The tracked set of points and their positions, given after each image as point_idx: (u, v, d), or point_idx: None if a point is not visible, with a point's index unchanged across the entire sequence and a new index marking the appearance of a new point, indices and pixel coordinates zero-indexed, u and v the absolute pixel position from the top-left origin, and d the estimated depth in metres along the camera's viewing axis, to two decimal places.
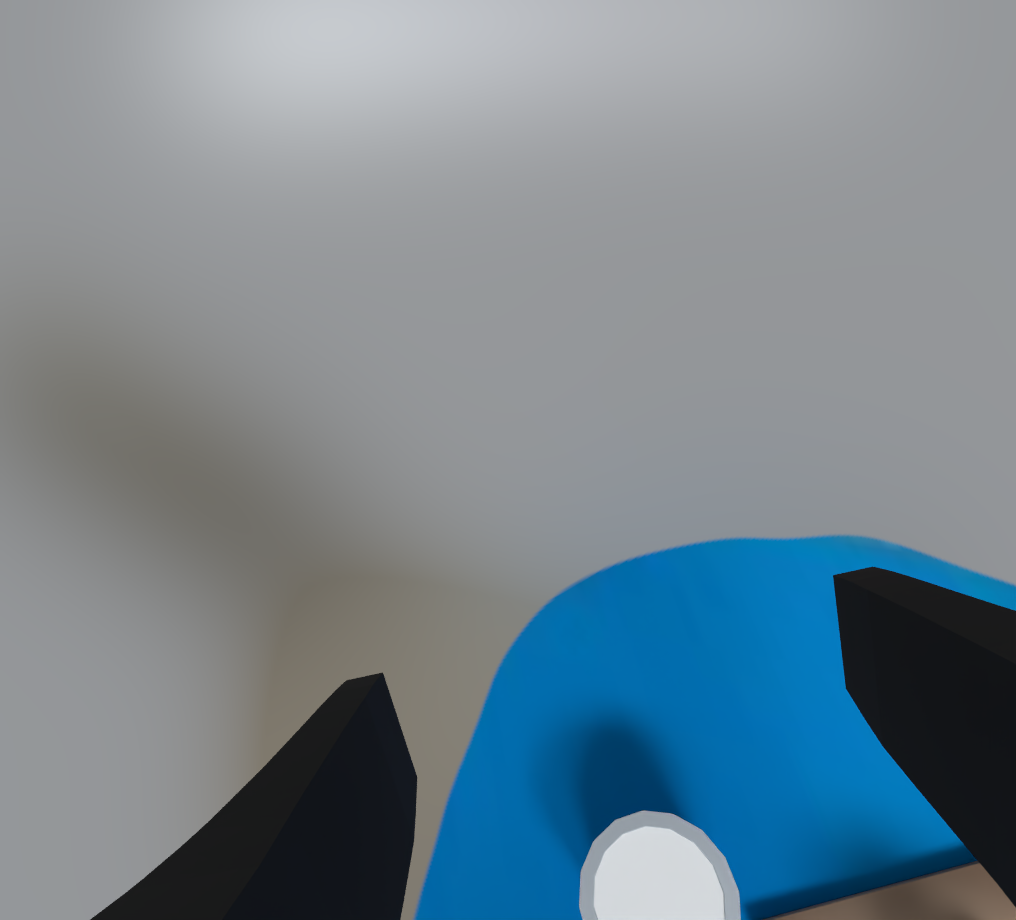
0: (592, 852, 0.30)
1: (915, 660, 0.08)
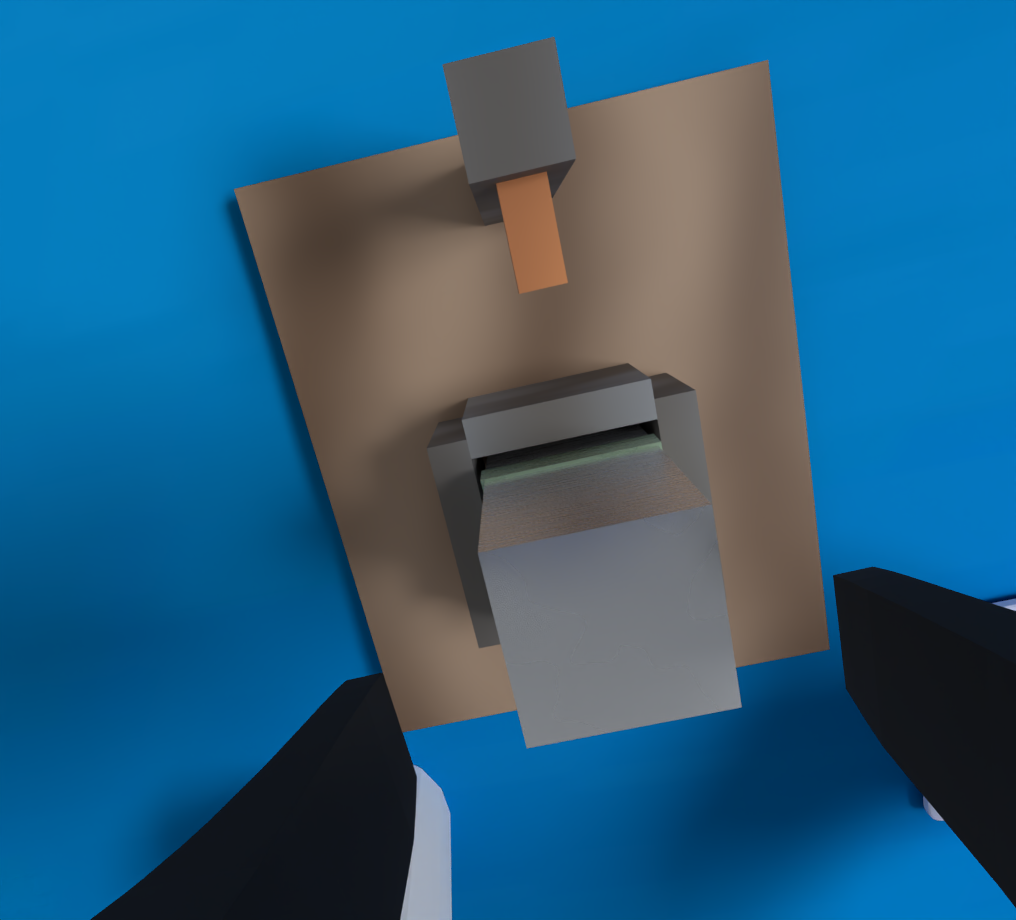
0: None
1: (915, 660, 0.08)
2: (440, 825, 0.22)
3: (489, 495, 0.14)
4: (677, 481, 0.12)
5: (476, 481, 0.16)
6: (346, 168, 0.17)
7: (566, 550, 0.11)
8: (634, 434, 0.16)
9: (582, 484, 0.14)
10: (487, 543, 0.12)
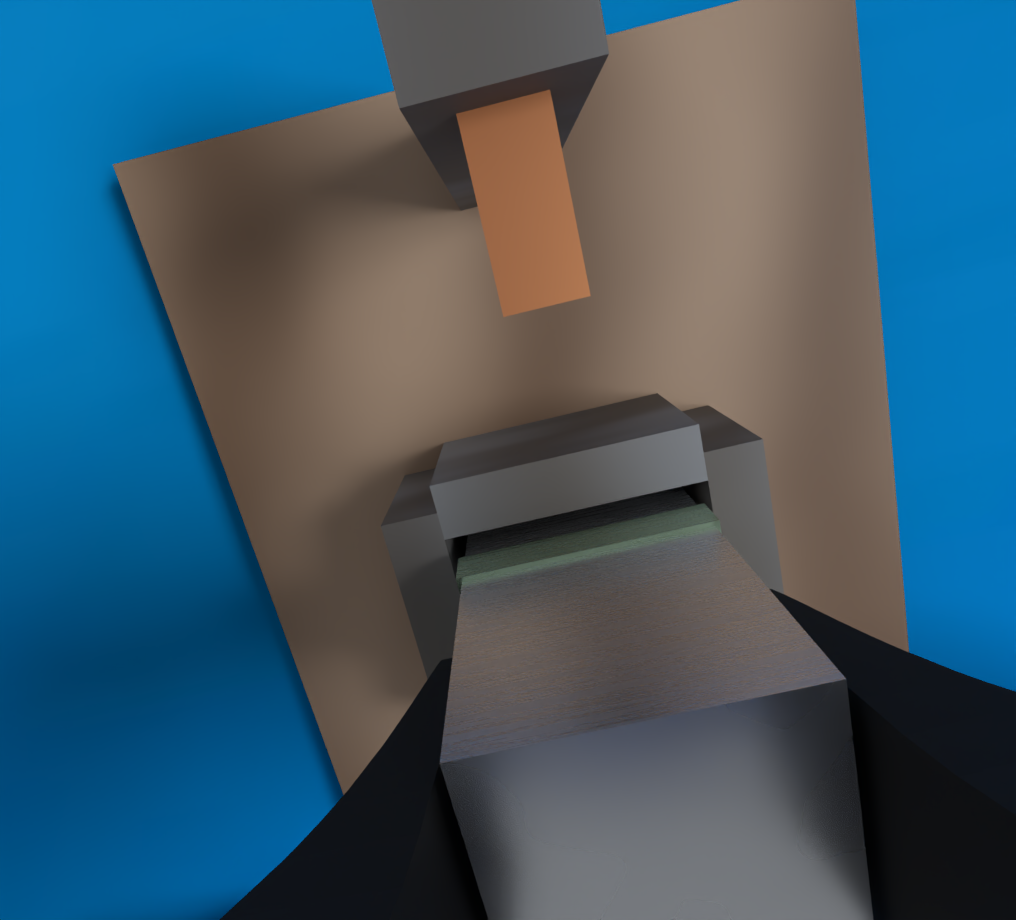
0: None
1: None
2: None
3: (467, 612, 0.09)
4: (766, 610, 0.08)
5: (452, 569, 0.12)
6: (267, 133, 0.12)
7: (592, 757, 0.07)
8: (674, 501, 0.12)
9: (609, 601, 0.09)
10: (457, 737, 0.07)
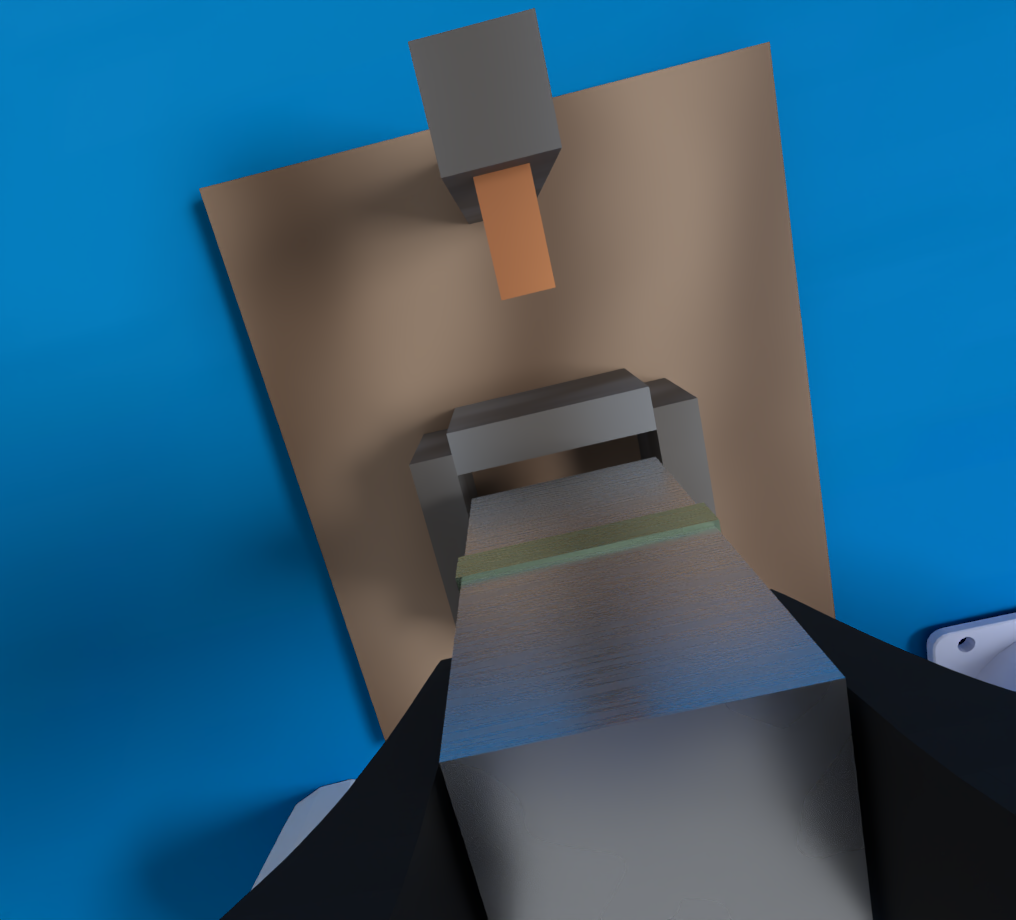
0: None
1: None
2: None
3: (466, 611, 0.09)
4: (765, 609, 0.08)
5: (463, 499, 0.15)
6: (319, 164, 0.16)
7: (591, 756, 0.07)
8: (674, 500, 0.12)
9: (609, 600, 0.09)
10: (457, 736, 0.07)
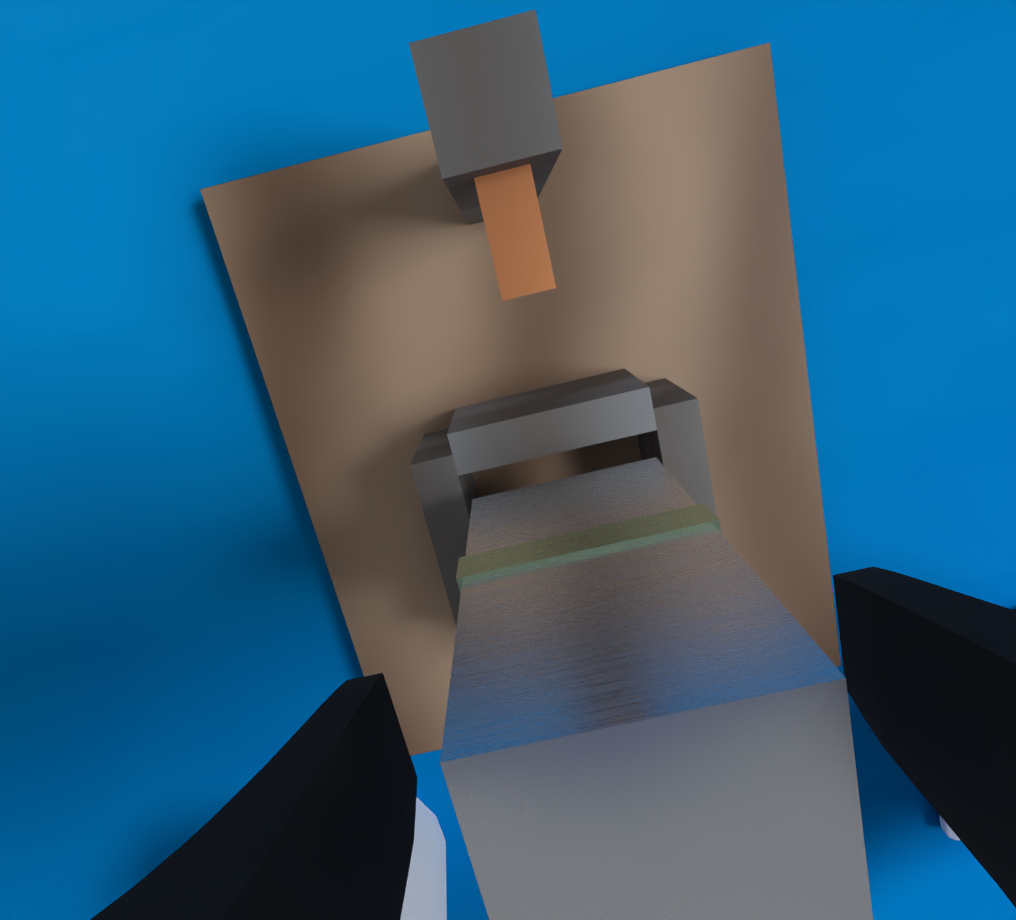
0: None
1: (915, 660, 0.08)
2: (434, 856, 0.21)
3: (467, 611, 0.09)
4: (765, 609, 0.08)
5: (464, 499, 0.15)
6: (320, 165, 0.16)
7: (592, 756, 0.07)
8: (674, 500, 0.12)
9: (610, 600, 0.09)
10: (458, 736, 0.07)
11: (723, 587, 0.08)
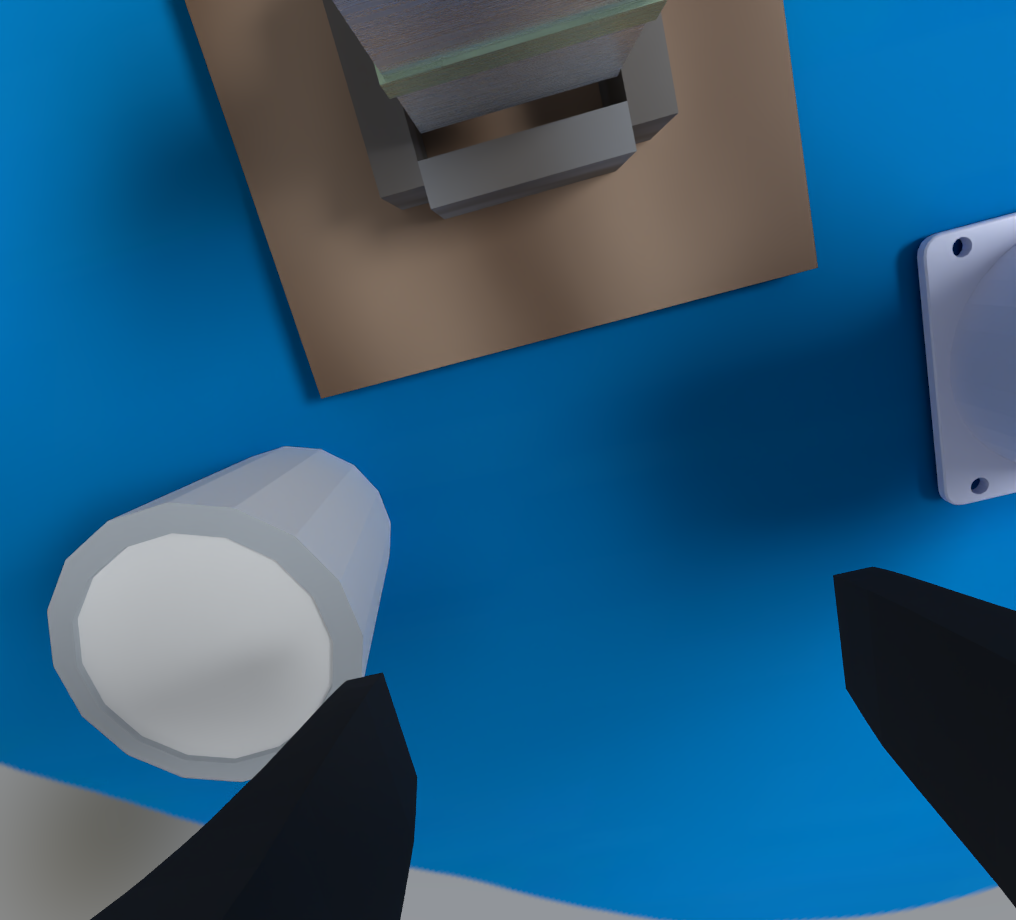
0: (147, 757, 0.15)
1: (915, 659, 0.08)
2: (371, 507, 0.19)
3: None
4: None
5: None
6: None
7: None
8: None
9: None
10: None
11: None
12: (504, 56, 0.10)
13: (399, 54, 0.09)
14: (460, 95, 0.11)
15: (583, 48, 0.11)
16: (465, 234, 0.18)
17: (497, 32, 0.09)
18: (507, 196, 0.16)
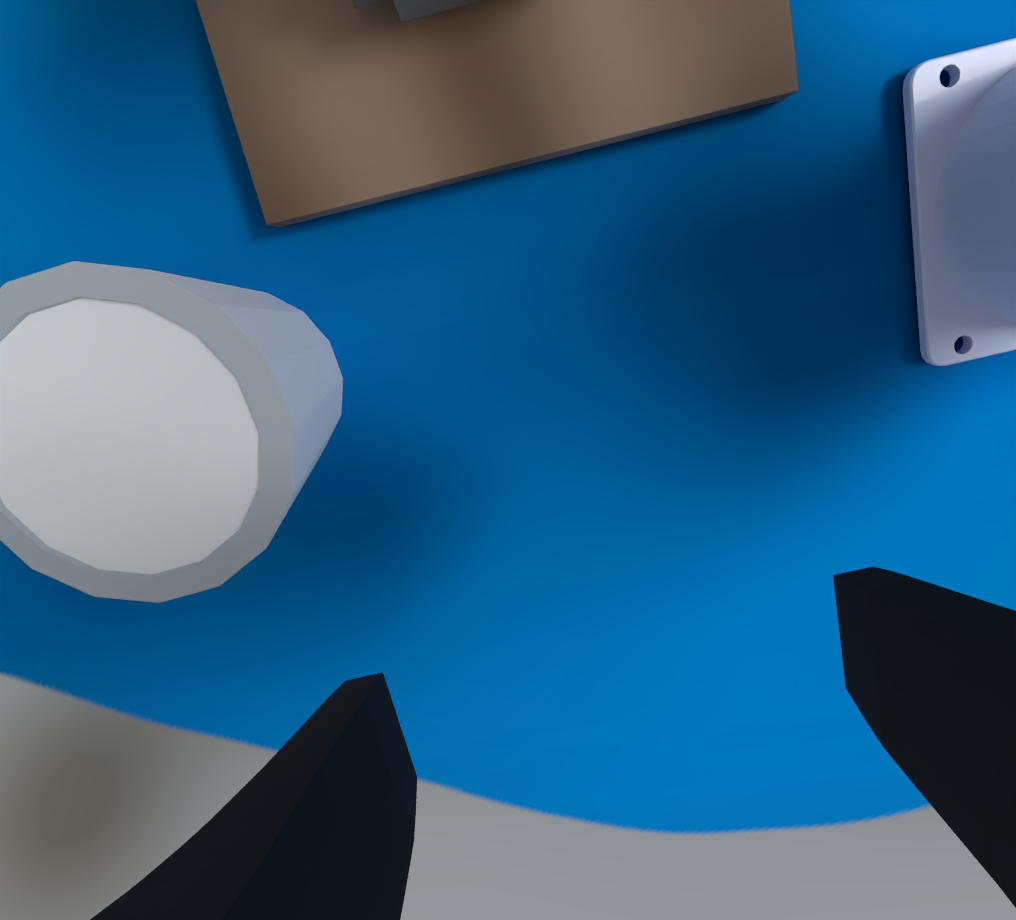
0: (53, 572, 0.14)
1: (916, 660, 0.08)
2: (318, 345, 0.18)
3: None
4: None
5: None
6: None
7: None
8: None
9: None
10: None
11: None
12: None
13: None
14: None
15: None
16: (424, 39, 0.16)
17: None
18: None
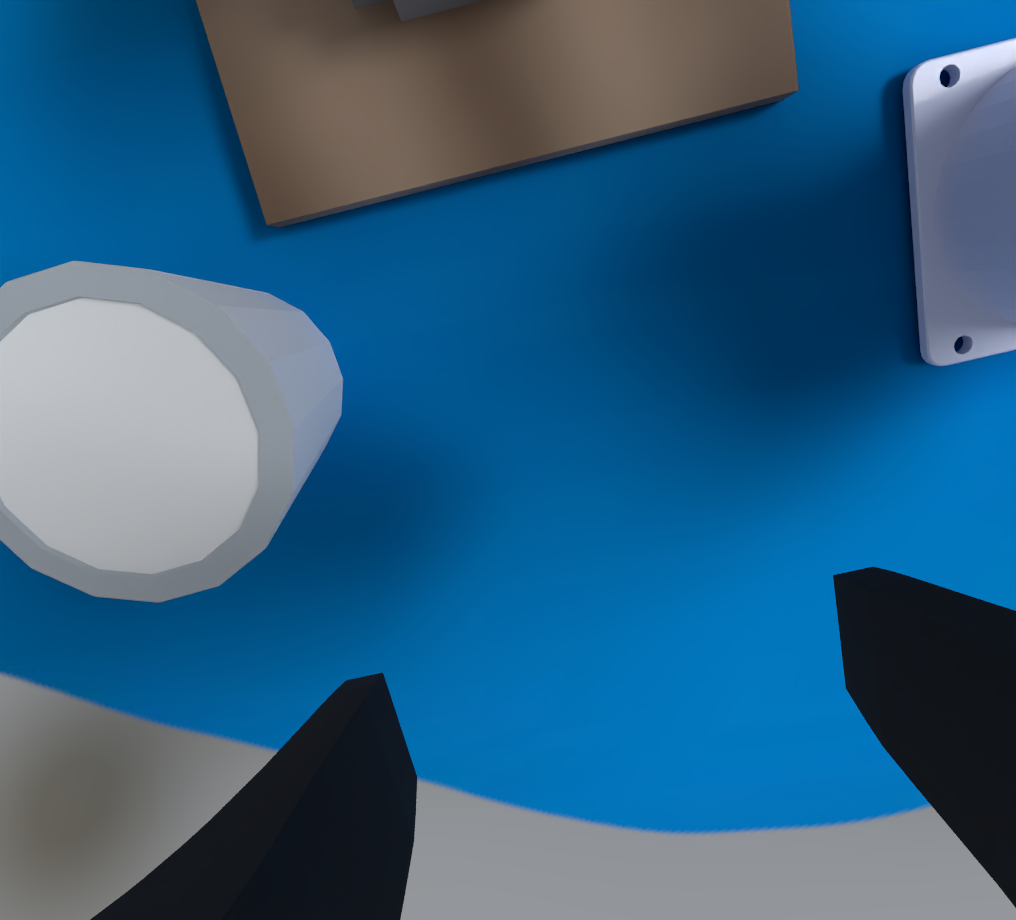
0: (52, 571, 0.14)
1: (916, 660, 0.08)
2: (318, 345, 0.18)
3: None
4: None
5: None
6: None
7: None
8: None
9: None
10: None
11: None
12: None
13: None
14: None
15: None
16: (424, 39, 0.16)
17: None
18: None
